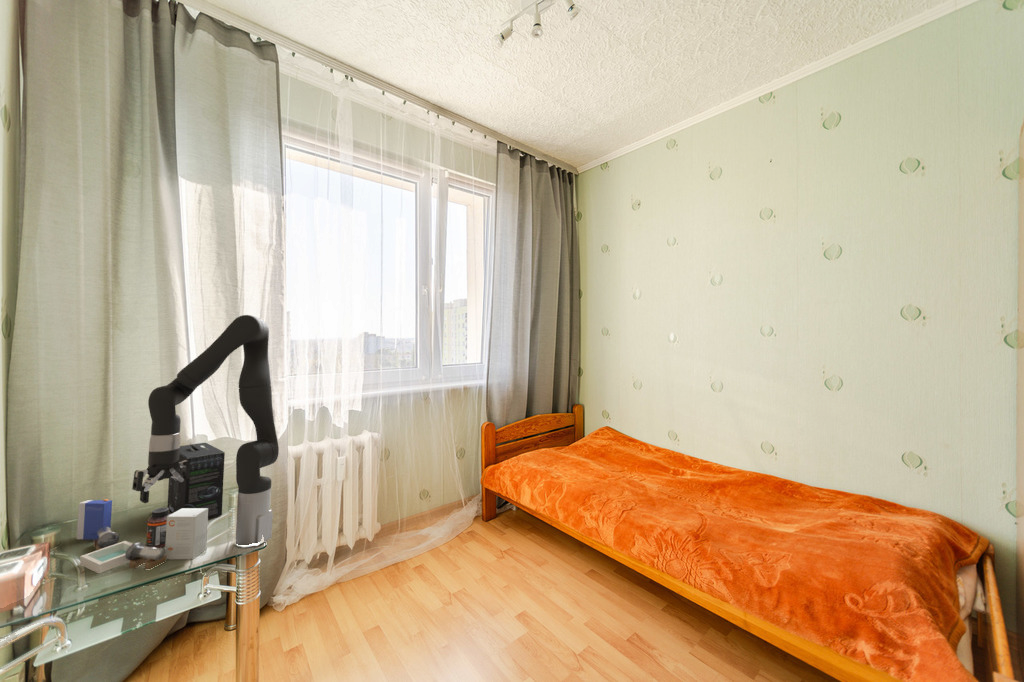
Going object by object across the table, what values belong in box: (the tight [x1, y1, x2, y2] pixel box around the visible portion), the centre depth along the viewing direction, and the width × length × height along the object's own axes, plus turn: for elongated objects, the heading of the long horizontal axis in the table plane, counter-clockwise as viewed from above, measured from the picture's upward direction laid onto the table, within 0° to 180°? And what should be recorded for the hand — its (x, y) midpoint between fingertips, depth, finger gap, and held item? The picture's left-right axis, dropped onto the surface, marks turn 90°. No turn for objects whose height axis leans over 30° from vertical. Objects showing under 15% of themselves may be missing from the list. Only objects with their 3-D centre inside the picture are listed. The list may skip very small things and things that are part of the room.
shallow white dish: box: [79, 540, 133, 574], centre depth 116 cm, size 10×10×2 cm
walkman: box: [76, 498, 113, 540], centre depth 128 cm, size 8×3×12 cm, turn 94°
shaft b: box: [92, 527, 120, 551], centre depth 123 cm, size 9×5×6 cm, turn 53°
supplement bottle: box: [145, 506, 171, 548], centre depth 126 cm, size 6×6×11 cm
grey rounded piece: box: [125, 541, 167, 570], centre depth 115 cm, size 9×5×6 cm, turn 83°
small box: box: [164, 508, 209, 560], centre depth 121 cm, size 8×6×13 cm
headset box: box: [167, 442, 226, 520], centre depth 150 cm, size 22×12×26 cm, turn 53°
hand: (161, 497), depth 126 cm, fingers open, 8 cm apart
